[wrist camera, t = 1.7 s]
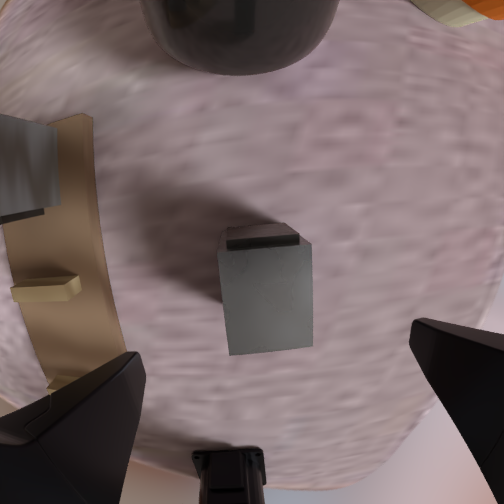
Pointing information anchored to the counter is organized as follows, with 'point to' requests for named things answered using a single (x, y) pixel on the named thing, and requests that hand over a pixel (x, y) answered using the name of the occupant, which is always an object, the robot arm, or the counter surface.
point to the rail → (57, 245)
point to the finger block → (266, 288)
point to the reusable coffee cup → (461, 10)
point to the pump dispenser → (238, 32)
